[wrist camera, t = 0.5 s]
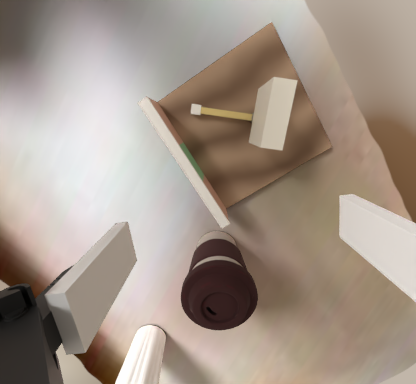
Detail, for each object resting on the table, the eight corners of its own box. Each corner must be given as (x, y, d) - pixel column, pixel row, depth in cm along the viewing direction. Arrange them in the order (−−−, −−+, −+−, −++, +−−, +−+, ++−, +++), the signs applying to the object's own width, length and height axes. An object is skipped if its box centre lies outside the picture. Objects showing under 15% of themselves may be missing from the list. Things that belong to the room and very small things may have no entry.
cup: (160, 356, 50) (141, 443, 37) (125, 341, 49) (92, 425, 36) (177, 329, 48) (164, 410, 35) (141, 313, 47) (113, 390, 34)
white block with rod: (268, 95, 35) (297, 80, 24) (259, 142, 37) (282, 150, 25) (194, 84, 35) (187, 63, 23) (189, 133, 37) (179, 136, 25)
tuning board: (150, 108, 37) (148, 108, 36) (269, 25, 34) (271, 22, 33) (218, 211, 41) (218, 213, 40) (328, 145, 38) (332, 146, 37)
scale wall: (150, 107, 36) (137, 103, 29) (157, 101, 36) (146, 96, 29) (219, 212, 40) (221, 228, 34) (226, 208, 40) (229, 223, 34)
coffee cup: (239, 219, 42) (255, 268, 27) (246, 267, 44) (264, 336, 30) (184, 227, 42) (171, 279, 28) (194, 275, 45) (187, 345, 30)
